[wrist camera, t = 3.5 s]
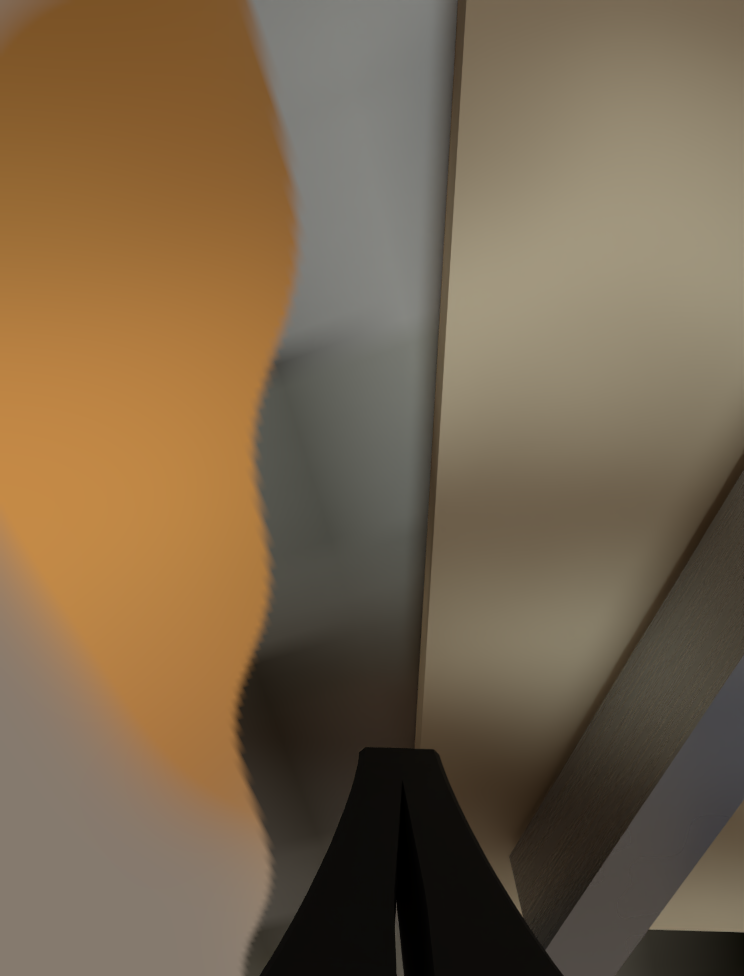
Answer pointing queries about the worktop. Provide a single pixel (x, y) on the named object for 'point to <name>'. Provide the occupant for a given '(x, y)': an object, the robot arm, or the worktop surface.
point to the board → (579, 386)
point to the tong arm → (646, 771)
